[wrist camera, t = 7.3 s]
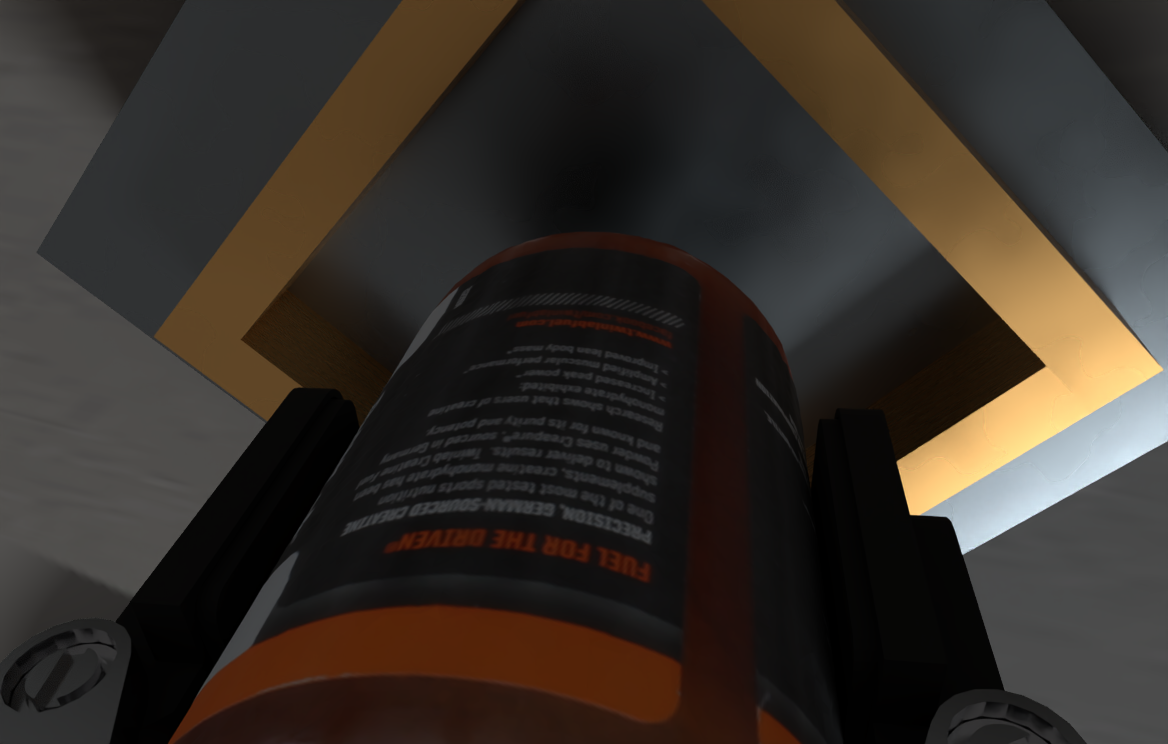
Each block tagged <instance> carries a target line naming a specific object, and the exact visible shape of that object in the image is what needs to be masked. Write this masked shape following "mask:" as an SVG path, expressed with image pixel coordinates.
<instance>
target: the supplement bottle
mask: <svg viewBox="0 0 1168 744" xmlns="http://www.w3.org/2000/svg"><path fill="white" fill-rule="evenodd" d="M168 744H844V739H843V731H842V724H841V716H840V708H839V700H838V697H837V687H836V677H835V668H834V661H833V654H832V647H831V633H830V623H829V618H828V612H827V606H826V598H825V589H824V584H823V579H822V569H821V561H820V554H819V547H818V540H817V530H816V524H815V516H814V508H813V503H812V497H811V488H810V481H809V474H808V468H807V460H806V449H805V439H804V433H803V425H802V420H801V416H800V407H799V401H798V397H797V391H796V387H795V384H794V382H793V378H792V374H791V370H790V367H789V365H788V360H787V357H786V355H785V352H784V349H783V346H782V344H781V342H780V340H779V338H778V337H777V335H776V333H775V331H774V330H773V328H772V326H771V325H770V324H769V322H768V321H767V319H766V318H765V316H764V315H763V314H762V313H761V311H760V310H759V309H758V308H757V306H756V305H755V304H754V302H753V301H752V300H751V299H750V298H749V297H748V296H747V295H745V294H744V293H743V292H742V291H741V290H740V289H739V288H738V287H737V286H736V285H735V284H733V283H732V282H731V281H730V280H729V279H728V278H727V277H725V276H724V275H723V274H721V273H720V272H718V271H717V270H716V269H714V268H713V267H711V266H710V265H708V264H707V263H705V262H703V261H701V260H699V259H697V258H695V257H694V256H692V255H690V254H689V253H687V252H686V251H684V250H681V249H679V248H677V247H675V246H673V245H670V244H667V243H662V242H658V241H654V240H652V239H648V238H643V237H640V236H633V235H627V234H621V233H611V232H571V233H560V234H553V235H549V236H545V237H541V238H537V239H534V240H530V241H526V242H524V243H522V244H519V245H516V246H513V247H509V248H507V249H505V250H503V251H501V252H500V253H498V254H496V255H494V256H492V257H490V258H489V259H487V260H485V261H484V262H483V263H481V264H480V265H478V266H477V267H476V268H474V269H473V270H472V271H471V272H470V273H468V274H467V275H466V276H465V277H464V278H463V279H462V280H460V281H459V282H457V283H456V284H455V285H454V286H453V287H452V289H451V290H450V291H449V292H448V293H447V294H446V296H445V297H444V298H443V299H442V300H441V302H440V303H439V304H438V306H437V307H436V309H435V310H434V311H433V312H432V313H431V314H430V316H429V317H428V319H427V320H426V321H425V323H424V324H423V326H422V327H421V329H420V330H419V332H418V333H417V335H416V337H415V338H414V340H413V342H412V343H411V345H410V347H409V348H408V350H407V352H406V353H405V355H404V357H403V358H402V360H401V362H400V363H399V365H398V366H397V368H396V370H395V371H394V373H393V375H392V376H391V378H390V380H389V381H388V383H387V384H386V385H385V387H384V389H383V390H382V392H381V394H380V396H379V397H378V399H377V400H376V402H375V403H374V405H373V407H372V409H371V410H370V412H369V413H368V415H367V417H366V418H365V420H364V422H363V423H362V425H361V427H360V428H359V430H358V432H357V434H356V435H355V437H354V438H353V440H352V441H351V443H350V445H349V447H348V449H347V450H346V452H345V453H344V455H343V457H342V458H341V460H340V462H339V463H338V465H337V466H336V468H335V470H334V471H333V473H332V475H331V476H330V478H329V480H328V481H327V483H326V484H325V485H324V487H323V488H322V490H321V492H320V494H319V496H318V498H317V500H316V502H315V503H314V505H313V506H312V508H311V509H310V511H309V513H308V514H307V516H306V517H305V519H304V521H303V522H302V524H301V526H300V527H299V529H298V531H297V532H296V534H295V536H294V537H293V539H292V540H291V542H290V543H289V544H288V546H287V547H286V549H285V551H284V553H283V554H282V555H281V557H280V559H279V561H278V563H277V564H276V566H275V567H274V569H273V570H272V572H271V574H270V576H269V578H268V580H267V582H266V583H265V584H264V586H263V587H262V589H261V591H260V592H259V594H258V596H257V597H256V599H255V601H254V602H253V604H252V606H251V607H250V609H249V611H248V612H247V614H246V616H245V617H244V619H243V621H242V622H241V624H240V625H239V627H238V629H237V630H236V632H235V634H234V635H233V637H232V639H231V640H230V642H229V643H228V645H227V647H226V648H225V650H224V652H223V653H222V655H221V657H220V658H219V660H218V662H217V663H216V665H215V666H214V668H213V670H212V671H211V673H210V675H209V676H208V678H207V679H206V681H205V683H204V684H203V686H202V687H201V689H200V691H199V692H198V694H197V696H196V698H195V700H194V702H193V704H192V705H191V707H190V709H189V711H188V712H187V714H186V715H185V717H184V719H183V720H182V722H181V723H180V725H179V727H178V728H177V730H176V731H175V733H174V735H173V736H172V738H171V739H170V741H169V743H168Z"/></svg>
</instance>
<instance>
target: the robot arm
mask: <svg viewBox="0 0 1168 744" xmlns="http://www.w3.org/2000/svg"><path fill="white" fill-rule="evenodd" d="M359 428H360V427H359V422H358V418H357V413H356V409H355V406H354V404H353V402H352V401H350V400H343V397H342V395H341V393H340V392H339V391H338V390H336V389H328V388H301V387H298V388H294V389H293V390H292V391H291V392H289V394H288V395H287V396H286V398H285V399H284V400H283V402H282V403H281V404H280V406H279V407H278V408H277V410H276V411H275V412H274V413H273V415H272V416H271V417H270V419H269V420H268V421H267V423H266V424H265V425H264V427H263V428H262V429H261V431H260V432H259V433H258V434H257V436H256V437H255V438H254V440H253V441H252V442H251V444H250V445H249V446H248V448H247V449H246V450H245V452H244V453H243V454H242V455H241V457H240V458H239V459H238V461H237V462H236V463H235V465H234V466H233V467H232V469H231V470H230V471H229V473H228V474H227V475H226V476H225V478H224V479H223V480H222V482H221V483H220V484H219V486H218V487H217V488H216V490H215V491H214V492H213V494H212V495H211V496H210V497H209V499H208V500H207V501H206V503H205V504H204V505H203V507H202V508H201V509H200V511H199V512H198V513H197V515H196V516H195V517H194V518H193V520H192V521H191V522H190V524H189V525H188V526H187V528H186V529H185V530H184V532H183V533H182V534H181V536H180V537H179V538H178V539H177V541H176V542H175V543H174V545H173V546H172V547H171V549H170V550H169V551H168V553H167V554H166V555H165V557H164V558H163V559H162V560H161V562H160V563H159V564H158V566H157V567H156V568H155V570H154V571H153V572H152V574H151V575H150V576H149V578H148V579H147V580H146V581H145V583H144V584H143V585H142V587H141V588H140V589H139V591H138V592H137V593H136V595H135V596H134V597H133V599H132V600H131V601H130V603H129V605H128V606H127V607H126V609H125V610H124V611H123V612H122V614H121V615H120V617H119V618H118V619H117V620H116V622H114V621H112V620H106V619H100V618H89V619H77V620H73V621H70V622H66V623H63V624H59V625H56V626H53V627H51V628H49V629H47V630H45V631H43V632H41V633H39V634H37V635H34V636H32V637H31V638H30V639H28V640H27V641H25V642H24V643H23V644H21V645H20V646H18V647H17V648H15V649H14V650H13V651H12V652H11V653H10V654H9V655H8V656H7V657H6V658H5V659H4V660H3V661H2V662H1V663H0V744H168V743H169V741H170V739H171V738H172V736H173V735H174V733H175V731H176V730H177V728H178V727H179V725H180V723H181V722H182V720H183V719H184V717H185V715H186V714H187V712H188V711H189V709H190V707H191V705H192V704H193V702H194V700H195V698H196V696H197V694H198V692H199V691H200V689H201V687H202V686H203V684H204V683H205V681H206V679H207V678H208V676H209V675H210V673H211V671H212V670H213V668H214V666H215V665H216V663H217V662H218V660H219V658H220V657H221V655H222V653H223V652H224V650H225V648H226V647H227V645H228V643H229V642H230V640H231V639H232V637H233V635H234V634H235V632H236V630H237V629H238V627H239V625H240V624H241V622H242V621H243V619H244V617H245V616H246V614H247V612H248V611H249V609H250V607H251V606H252V604H253V602H254V601H255V599H256V597H257V596H258V594H259V592H260V591H261V589H262V587H263V586H264V584H265V583H266V582H267V580H268V578H269V576H270V574H271V572H272V570H273V569H274V567H275V566H276V564H277V563H278V561H279V559H280V557H281V555H282V554H283V553H284V551H285V549H286V547H287V546H288V544H289V543H290V542H291V540H292V539H293V537H294V536H295V534H296V532H297V531H298V529H299V527H300V526H301V524H302V522H303V521H304V519H305V517H306V516H307V514H308V513H309V511H310V509H311V508H312V506H313V505H314V503H315V502H316V500H317V498H318V496H319V494H320V492H321V490H322V488H323V487H324V485H325V484H326V483H327V481H328V480H329V478H330V476H331V475H332V473H333V471H334V470H335V468H336V466H337V465H338V463H339V462H340V460H341V458H342V457H343V455H344V453H345V452H346V450H347V449H348V447H349V445H350V443H351V441H352V440H353V438H354V437H355V435H356V434H357V432H358V430H359ZM811 497H812V503H813V508H814V516H815V524H816V530H817V540H818V547H819V554H820V561H821V569H822V579H823V584H824V589H825V598H826V606H827V612H828V618H829V623H830V633H831V647H832V654H833V661H834V668H835V677H836V687H837V697H838V700H839V708H840V716H841V724H842V731H843V739H844V744H1087V743H1086V742H1085V741H1084V740H1083V738H1082V737H1081V736H1080V735H1079V734H1078V733H1077V732H1076V730H1075V729H1074V728H1073V727H1072V726H1071V725H1070V723H1068V722H1067V721H1066V720H1064V719H1063V718H1062V717H1060V716H1059V715H1058V714H1056V713H1055V712H1053V711H1052V710H1051V709H1049V708H1048V707H1046V706H1044V705H1042V704H1040V703H1038V702H1036V701H1034V700H1032V699H1029V698H1027V697H1025V696H1023V695H1019V694H1015V693H1011V692H1007V691H1005V690H1004V687H1003V684H1002V681H1001V677H1000V674H999V671H998V668H997V664H996V661H995V658H994V655H993V652H992V648H991V645H990V642H989V639H988V635H987V632H986V629H985V626H984V623H983V619H982V616H981V613H980V610H979V606H978V603H977V600H976V597H975V593H974V590H973V587H972V584H971V581H970V577H969V574H968V571H967V568H966V564H965V561H964V558H963V555H962V552H961V548H960V545H959V542H958V539H957V535H956V532H955V529H954V527H953V525H952V522H951V520H949V519H948V518H947V517H941V516H923V515H910V512H909V508H908V505H907V501H906V497H905V493H904V489H903V485H902V481H901V477H900V473H899V469H898V465H897V461H896V457H895V453H894V449H893V445H892V441H891V437H890V433H889V429H888V426H887V422H886V418H885V414H884V412H883V410H877V409H851V408H837V410H836V413H835V417H834V419H820V420H819V423H818V430H817V439H816V448H815V457H814V466H813V475H812V484H811Z"/></svg>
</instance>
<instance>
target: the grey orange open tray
mask: <svg viewBox="0 0 1168 744" xmlns="http://www.w3.org/2000/svg"><path fill="white" fill-rule="evenodd" d="M571 232H611V233H621V234H627V235H633V236H640V237H643V238H648V239H652V240H654V241H658V242H662V243H667V244H670V245H673V246H675V247H677V248H679V249H681V250H684V251H686V252H687V253H689V254H690V255H692V256H694V257H695V258H697V259H699V260H701V261H703V262H705V263H707V264H708V265H710V266H711V267H713V268H714V269H716V270H717V271H718V272H720V273H721V274H723V275H724V276H725V277H727V278H728V279H729V280H730V281H731V282H732V283H733V284H735V285H736V286H737V287H738V288H739V289H740V290H741V291H742V292H743V293H744V294H745V295H747V296H748V297H749V298H750V299H751V300H752V301H753V302H754V304H755V305H756V306H757V308H758V309H759V310H760V311H761V313H762V314H763V315H764V316H765V318H766V319H767V321H768V322H769V324H770V325H771V326H772V328H773V330H774V331H775V333H776V335H777V337H778V338H779V340H780V342H781V344H782V346H783V349H784V352H785V355H786V357H787V360H788V365H789V367H790V370H791V374H792V378H793V382H794V384H795V387H796V391H797V397H798V401H799V407H800V416H801V420H802V425H803V433H804V439H805V449H806V460H807V468H808V474H809V481H810V488H811V484H812V475H813V466H814V457H815V448H816V439H817V430H818V423H819V420H820V419H834V417H835V413H836V410H837V408H851V409H877V410H883V412H884V414H885V418H886V422H887V426H888V429H889V433H890V437H891V441H892V445H893V449H894V453H895V457H896V461H897V465H898V469H899V473H900V477H901V481H902V485H903V489H904V493H905V497H906V501H907V505H908V508H909V512H910V515H923V516H941V517H947V518H948V519H949V520H951V522H952V525H953V527H954V529H955V532H956V535H957V539H958V542H959V545H960V548H961V552H962V555H963V554H965V553H967V552H968V551H970V550H972V549H974V548H976V547H977V546H979V545H981V544H983V543H985V542H986V541H988V540H990V539H992V538H994V537H995V536H997V535H999V534H1001V533H1003V532H1004V531H1006V530H1008V529H1010V528H1012V527H1013V526H1015V525H1017V524H1019V523H1021V522H1022V521H1024V520H1026V519H1028V518H1030V517H1031V516H1033V515H1035V514H1037V513H1039V512H1040V511H1042V510H1044V509H1046V508H1048V507H1049V506H1051V505H1053V504H1055V503H1057V502H1058V501H1060V500H1062V499H1064V498H1066V497H1067V496H1069V495H1071V494H1073V493H1075V492H1076V491H1078V490H1080V489H1082V488H1084V487H1085V486H1087V485H1089V484H1091V483H1093V482H1094V481H1096V480H1098V479H1100V478H1102V477H1103V476H1105V475H1107V474H1109V473H1111V472H1112V471H1114V470H1116V469H1118V468H1120V467H1121V466H1123V465H1125V464H1127V463H1129V462H1130V461H1132V460H1134V459H1136V458H1138V457H1139V456H1141V455H1143V454H1145V453H1147V452H1148V451H1150V450H1152V449H1154V448H1156V447H1157V446H1159V445H1161V444H1163V443H1165V442H1166V441H1168V152H1167V151H1166V150H1165V149H1164V147H1163V146H1162V145H1161V144H1160V142H1159V141H1158V140H1157V139H1156V137H1155V136H1154V135H1153V134H1152V132H1151V131H1150V130H1149V129H1148V128H1147V126H1146V125H1145V124H1144V123H1143V121H1142V120H1141V119H1140V118H1139V116H1138V115H1137V114H1136V113H1135V111H1134V110H1133V109H1132V108H1131V106H1130V105H1129V104H1128V103H1127V101H1126V100H1125V99H1124V98H1123V96H1122V95H1121V94H1120V93H1119V92H1118V90H1117V89H1116V88H1115V87H1114V85H1113V84H1112V83H1111V82H1110V80H1109V79H1108V78H1107V77H1106V75H1105V74H1104V73H1103V72H1102V70H1101V69H1100V68H1099V67H1098V65H1097V64H1096V63H1095V62H1094V61H1093V59H1092V58H1091V57H1090V56H1089V54H1088V53H1087V52H1086V51H1085V49H1084V48H1083V47H1082V46H1081V44H1080V43H1079V42H1078V41H1077V39H1076V38H1075V37H1074V36H1073V34H1072V33H1071V32H1070V31H1069V29H1068V28H1067V27H1066V26H1065V25H1064V23H1063V22H1062V21H1061V20H1060V18H1059V17H1058V16H1057V15H1056V13H1055V12H1054V11H1053V10H1052V8H1051V7H1050V6H1049V5H1048V3H1047V2H1046V1H1045V0H186V1H185V3H184V4H183V6H182V8H181V9H180V11H179V13H178V14H177V16H176V18H175V19H174V21H173V23H172V25H171V26H170V28H169V30H168V31H167V33H166V35H165V36H164V38H163V40H162V41H161V43H160V45H159V47H158V48H157V50H156V52H155V53H154V55H153V57H152V58H151V60H150V62H149V63H148V65H147V67H146V68H145V70H144V72H143V74H142V75H141V77H140V79H139V80H138V82H137V84H136V85H135V87H134V89H133V90H132V92H131V94H130V95H129V97H128V99H127V101H126V102H125V104H124V106H123V107H122V109H121V111H120V112H119V114H118V116H117V117H116V119H115V121H114V122H113V124H112V126H111V128H110V129H109V131H108V133H107V134H106V136H105V138H104V139H103V141H102V143H101V144H100V146H99V148H98V150H97V151H96V153H95V155H94V156H93V158H92V160H91V161H90V163H89V165H88V166H87V168H86V170H85V171H84V173H83V175H82V177H81V178H80V180H79V182H78V183H77V185H76V187H75V188H74V190H73V192H72V193H71V195H70V197H69V198H68V200H67V202H66V204H65V205H64V207H63V209H62V210H61V212H60V214H59V215H58V217H57V219H56V220H55V222H54V224H53V226H52V227H51V229H50V231H49V232H48V234H47V236H46V237H45V239H44V241H43V242H42V244H41V246H40V247H39V249H38V251H37V253H38V254H39V255H40V256H42V257H43V258H44V259H46V260H47V261H48V262H50V263H51V264H52V265H54V266H55V267H57V268H58V269H59V270H61V271H62V272H63V273H65V274H66V275H67V276H69V277H70V278H71V279H73V280H74V281H75V282H77V283H78V284H79V285H81V286H82V287H83V288H85V289H86V290H88V291H89V292H90V293H92V294H93V295H94V296H96V297H97V298H98V299H100V300H101V301H102V302H104V303H105V304H106V305H108V306H109V307H110V308H112V309H113V310H114V311H116V312H117V313H119V314H120V315H121V316H123V317H124V318H125V319H127V320H128V321H129V322H131V323H132V324H133V325H135V326H136V327H137V328H139V329H140V330H141V331H143V332H144V333H145V334H147V335H148V336H150V337H151V338H152V339H154V340H155V341H156V342H158V343H159V344H160V345H162V346H163V347H164V348H166V349H167V350H168V351H170V352H171V353H172V354H174V355H175V356H176V357H178V358H179V359H181V360H182V361H183V362H185V363H186V364H187V365H189V366H190V367H191V368H193V369H194V370H195V371H197V372H198V373H199V374H201V375H202V376H203V377H205V378H206V379H207V380H209V381H210V382H212V383H213V384H214V385H216V386H217V387H218V388H220V389H221V390H222V391H224V392H225V393H226V394H228V395H229V396H230V397H232V398H233V399H234V400H236V401H237V402H238V403H240V404H241V405H243V406H244V407H245V408H247V409H248V410H249V411H251V412H252V413H253V414H255V415H256V416H257V417H259V418H260V419H261V420H263V421H264V422H265V423H267V421H268V420H269V419H270V417H271V416H272V415H273V413H274V412H275V411H276V410H277V408H278V407H279V406H280V404H281V403H282V402H283V400H284V399H285V398H286V396H287V395H288V394H289V392H291V391H292V390H293V389H294V388H298V387H301V388H328V389H336V390H338V391H339V392H340V393H341V395H342V397H343V400H350V401H352V402H353V404H354V406H355V409H356V413H357V418H358V422H359V427H361V425H362V423H363V422H364V420H365V418H366V417H367V415H368V413H369V412H370V410H371V409H372V407H373V405H374V403H375V402H376V400H377V399H378V397H379V396H380V394H381V392H382V390H383V389H384V387H385V385H386V384H387V383H388V381H389V380H390V378H391V376H392V375H393V373H394V371H395V370H396V368H397V366H398V365H399V363H400V362H401V360H402V358H403V357H404V355H405V353H406V352H407V350H408V348H409V347H410V345H411V343H412V342H413V340H414V338H415V337H416V335H417V333H418V332H419V330H420V329H421V327H422V326H423V324H424V323H425V321H426V320H427V319H428V317H429V316H430V314H431V313H432V312H433V311H434V310H435V309H436V307H437V306H438V304H439V303H440V302H441V300H442V299H443V298H444V297H445V296H446V294H447V293H448V292H449V291H450V290H451V289H452V287H453V286H454V285H455V284H456V283H457V282H459V281H460V280H462V279H463V278H464V277H465V276H466V275H467V274H468V273H470V272H471V271H472V270H473V269H474V268H476V267H477V266H478V265H480V264H481V263H483V262H484V261H485V260H487V259H489V258H490V257H492V256H494V255H496V254H498V253H500V252H501V251H503V250H505V249H507V248H509V247H513V246H516V245H519V244H522V243H524V242H526V241H530V240H534V239H537V238H541V237H545V236H549V235H553V234H560V233H571Z"/></svg>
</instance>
